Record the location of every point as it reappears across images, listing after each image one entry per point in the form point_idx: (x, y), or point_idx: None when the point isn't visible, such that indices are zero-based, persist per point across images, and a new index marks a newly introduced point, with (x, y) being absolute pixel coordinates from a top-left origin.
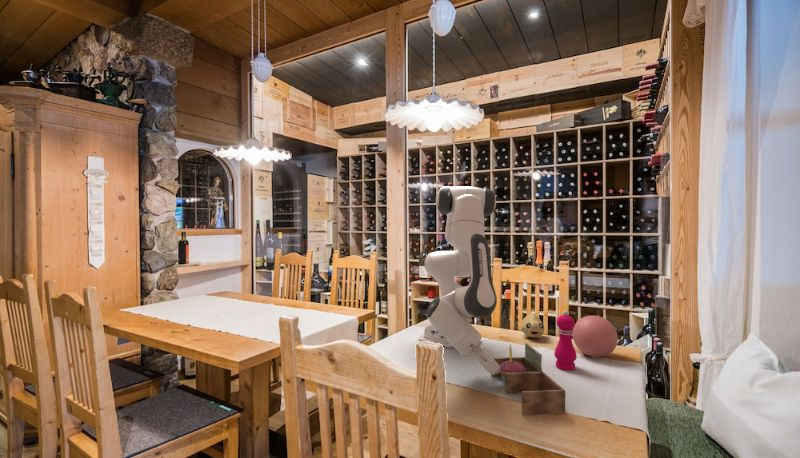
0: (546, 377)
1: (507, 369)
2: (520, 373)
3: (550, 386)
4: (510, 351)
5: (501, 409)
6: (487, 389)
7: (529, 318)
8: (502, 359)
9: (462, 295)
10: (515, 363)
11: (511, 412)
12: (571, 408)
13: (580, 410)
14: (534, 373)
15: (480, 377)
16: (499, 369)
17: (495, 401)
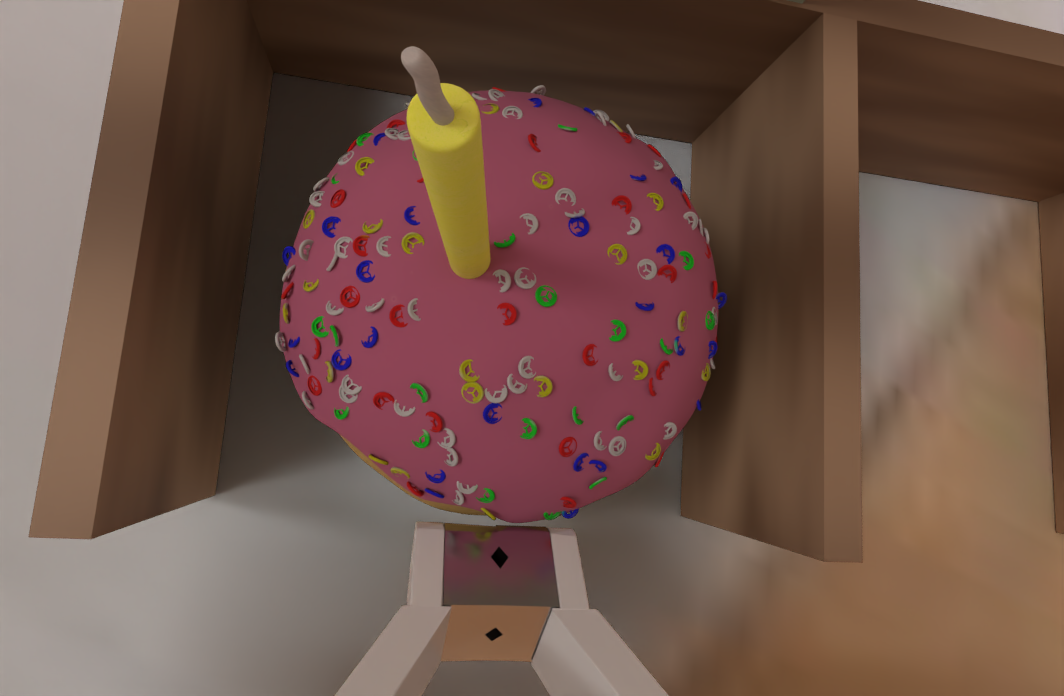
0: (986, 52)
1: (662, 439)
2: (859, 321)
3: (1013, 108)
4: (483, 193)
5: (989, 686)
6: None
7: None
8: (138, 301)
9: None
10: (598, 236)
11: (1037, 613)
12: None
13: None
14: (851, 118)
15: (194, 665)
16: (576, 549)
17: (848, 690)
